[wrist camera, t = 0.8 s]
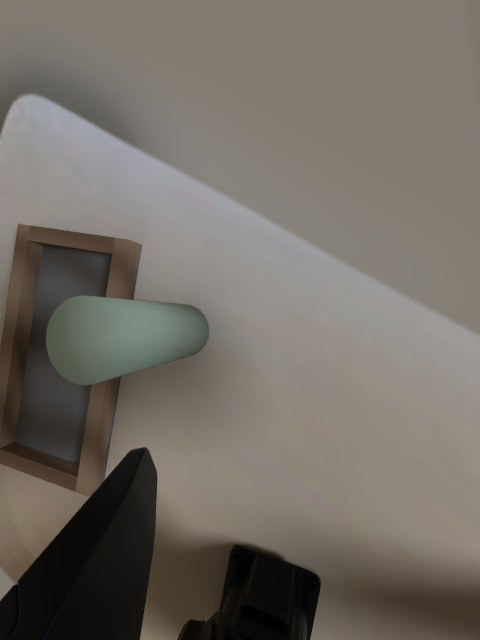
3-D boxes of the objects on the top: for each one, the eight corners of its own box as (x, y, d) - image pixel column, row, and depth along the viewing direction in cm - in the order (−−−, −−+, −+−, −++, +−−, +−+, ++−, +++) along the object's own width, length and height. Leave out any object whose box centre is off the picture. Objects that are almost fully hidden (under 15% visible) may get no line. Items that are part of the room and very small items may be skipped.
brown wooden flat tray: (103, 484, 27) (88, 496, 25) (5, 449, 30) (-15, 458, 28) (141, 244, 26) (128, 239, 24) (36, 229, 29) (18, 223, 27)
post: (203, 361, 25) (114, 394, 14) (156, 350, 26) (40, 374, 15) (212, 309, 25) (129, 303, 14) (165, 300, 26) (52, 288, 15)
